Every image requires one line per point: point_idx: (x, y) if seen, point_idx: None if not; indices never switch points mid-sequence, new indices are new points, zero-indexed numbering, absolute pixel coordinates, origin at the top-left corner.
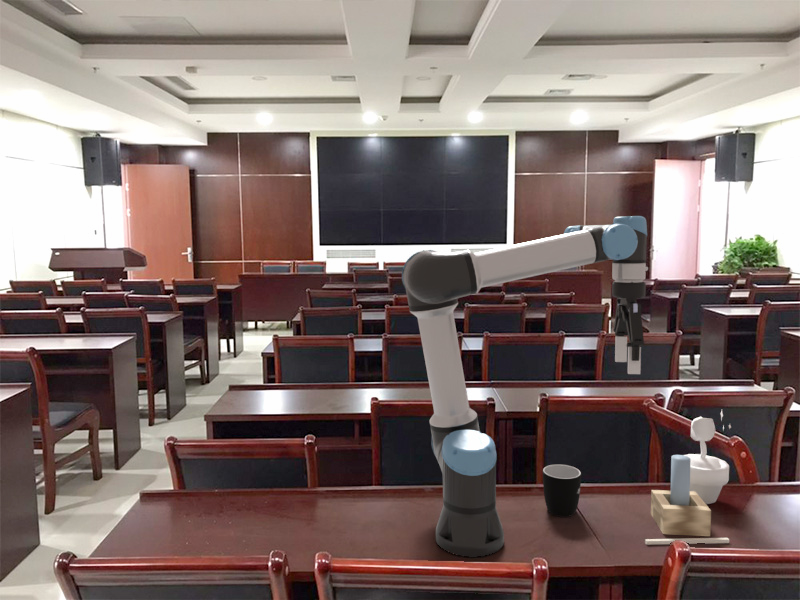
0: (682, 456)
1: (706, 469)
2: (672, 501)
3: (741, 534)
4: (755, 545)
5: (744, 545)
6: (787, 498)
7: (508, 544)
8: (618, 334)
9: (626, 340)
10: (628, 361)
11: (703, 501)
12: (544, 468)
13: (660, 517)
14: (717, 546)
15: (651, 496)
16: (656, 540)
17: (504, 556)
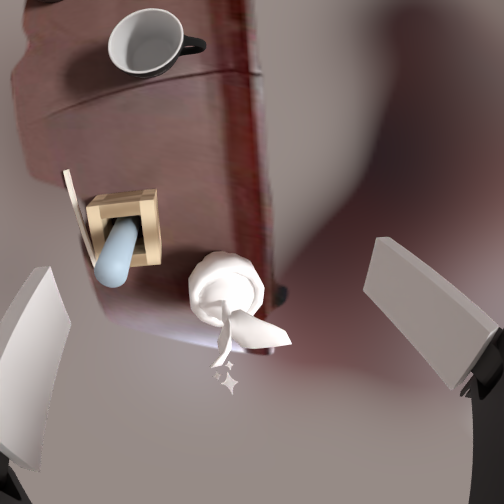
0: (119, 276)
1: (194, 297)
2: (116, 224)
3: (122, 286)
4: (100, 292)
5: (96, 281)
6: (232, 346)
7: (56, 6)
8: (497, 352)
9: (439, 370)
10: (4, 318)
11: None
12: (159, 10)
13: (104, 198)
14: (84, 253)
15: (152, 196)
16: (67, 184)
17: (32, 11)
